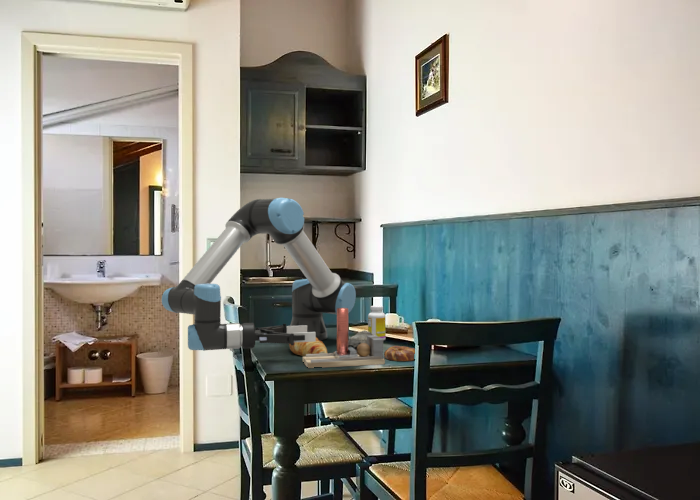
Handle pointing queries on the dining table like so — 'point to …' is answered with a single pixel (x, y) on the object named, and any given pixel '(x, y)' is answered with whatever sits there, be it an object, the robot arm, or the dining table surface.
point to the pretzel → (399, 353)
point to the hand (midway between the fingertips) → (311, 333)
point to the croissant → (308, 348)
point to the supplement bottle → (377, 322)
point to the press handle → (343, 336)
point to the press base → (366, 356)
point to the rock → (359, 339)
